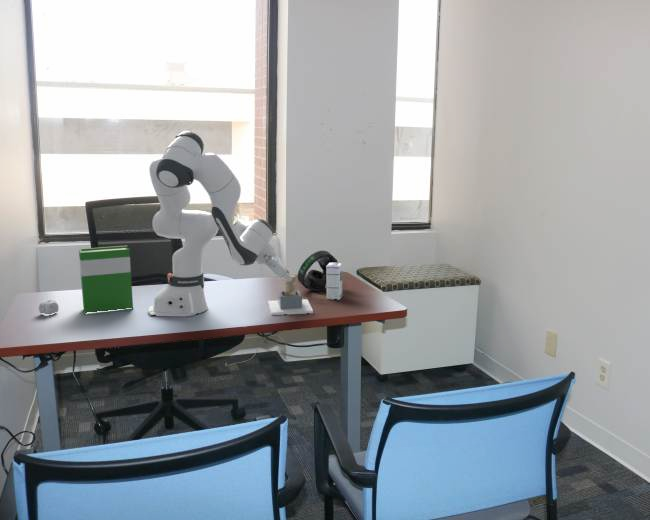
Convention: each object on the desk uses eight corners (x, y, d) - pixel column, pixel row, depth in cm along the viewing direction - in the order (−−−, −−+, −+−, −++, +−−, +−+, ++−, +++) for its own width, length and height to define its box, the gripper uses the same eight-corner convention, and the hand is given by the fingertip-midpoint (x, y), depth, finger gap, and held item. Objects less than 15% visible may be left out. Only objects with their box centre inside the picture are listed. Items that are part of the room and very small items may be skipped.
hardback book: (130, 304, 249) (126, 245, 244) (133, 309, 243) (129, 249, 238) (83, 309, 242) (78, 249, 237) (84, 314, 236) (79, 252, 231)
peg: (285, 307, 243) (285, 277, 241) (284, 304, 247) (284, 275, 244) (295, 306, 244) (295, 277, 241) (294, 304, 248) (294, 274, 245)
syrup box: (340, 300, 257) (340, 265, 254) (325, 299, 258) (326, 265, 255) (342, 296, 263) (342, 262, 260) (328, 295, 264) (328, 262, 261)
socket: (271, 315, 237) (271, 300, 235) (268, 303, 252) (267, 288, 251) (313, 313, 239) (313, 298, 238) (307, 301, 255) (307, 287, 253)
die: (59, 313, 237) (58, 300, 236) (48, 317, 233) (47, 304, 232) (50, 311, 240) (49, 299, 238) (39, 315, 235) (37, 302, 234)
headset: (331, 303, 282) (299, 286, 258) (313, 285, 290) (280, 267, 266) (357, 273, 281) (326, 253, 257) (338, 256, 288) (306, 235, 264)
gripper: (272, 252, 229) (298, 277, 233) (267, 242, 249) (291, 265, 253) (260, 265, 229) (287, 289, 233) (256, 253, 249) (281, 276, 253)
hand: (289, 277), depth 243 cm, fingers open, 8 cm apart
